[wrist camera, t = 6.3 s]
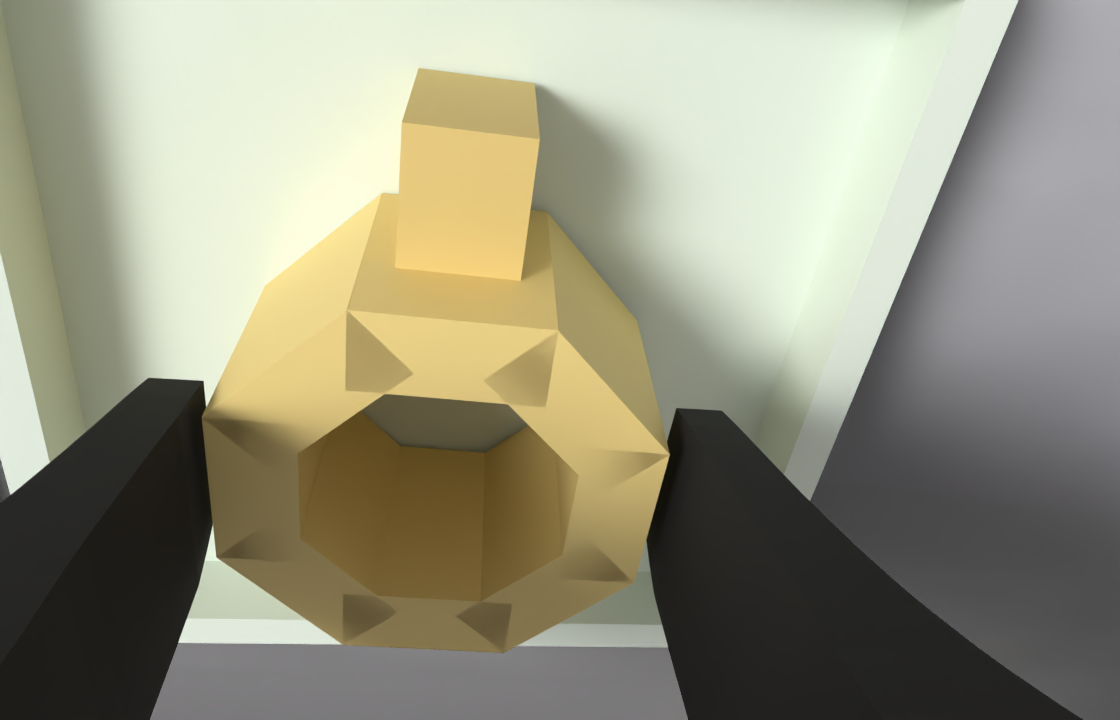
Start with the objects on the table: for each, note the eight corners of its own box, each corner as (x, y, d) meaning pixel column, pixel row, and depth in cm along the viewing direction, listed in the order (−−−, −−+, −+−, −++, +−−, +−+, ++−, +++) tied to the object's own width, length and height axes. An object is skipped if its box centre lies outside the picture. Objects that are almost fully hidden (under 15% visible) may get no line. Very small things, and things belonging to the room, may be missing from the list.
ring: (686, 103, 11) (741, 198, 8) (594, 507, 14) (613, 658, 12) (255, 46, 10) (171, 131, 8) (275, 484, 14) (223, 638, 11)
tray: (723, 571, 17) (749, 647, 15) (90, 555, 15) (50, 641, 14) (958, -78, 11) (1039, -53, 9) (-85, -250, 9) (-194, -253, 7)
